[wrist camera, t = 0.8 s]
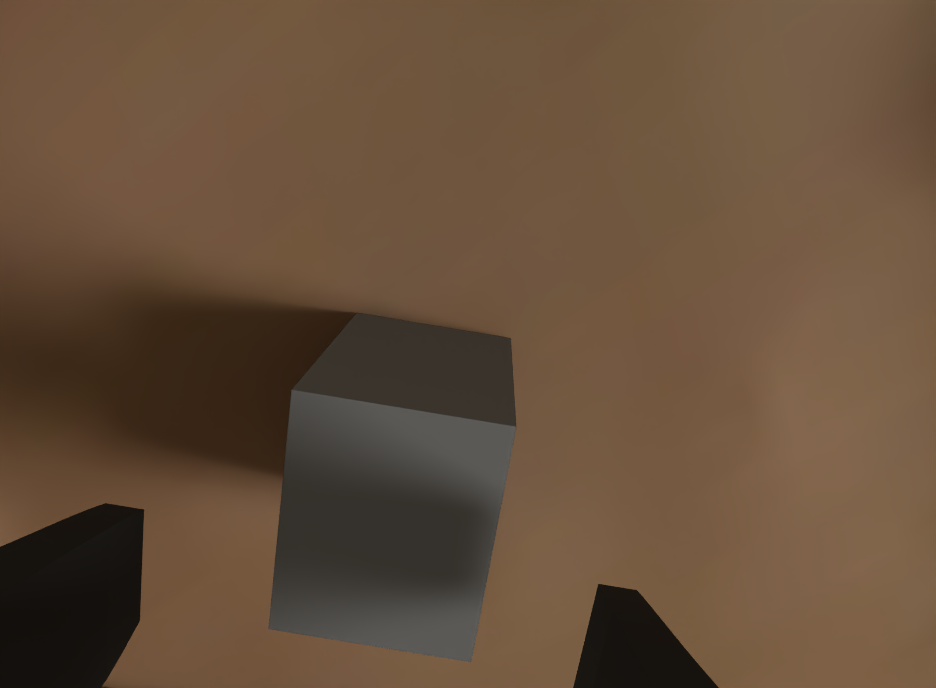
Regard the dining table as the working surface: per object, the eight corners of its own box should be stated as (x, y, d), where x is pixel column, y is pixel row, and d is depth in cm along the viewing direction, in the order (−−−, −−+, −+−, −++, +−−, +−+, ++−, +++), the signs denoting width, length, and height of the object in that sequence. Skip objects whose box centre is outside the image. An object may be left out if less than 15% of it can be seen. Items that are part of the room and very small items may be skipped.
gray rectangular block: (479, 510, 20) (471, 661, 14) (336, 486, 20) (268, 628, 14) (510, 337, 18) (516, 426, 13) (356, 312, 18) (291, 389, 13)
